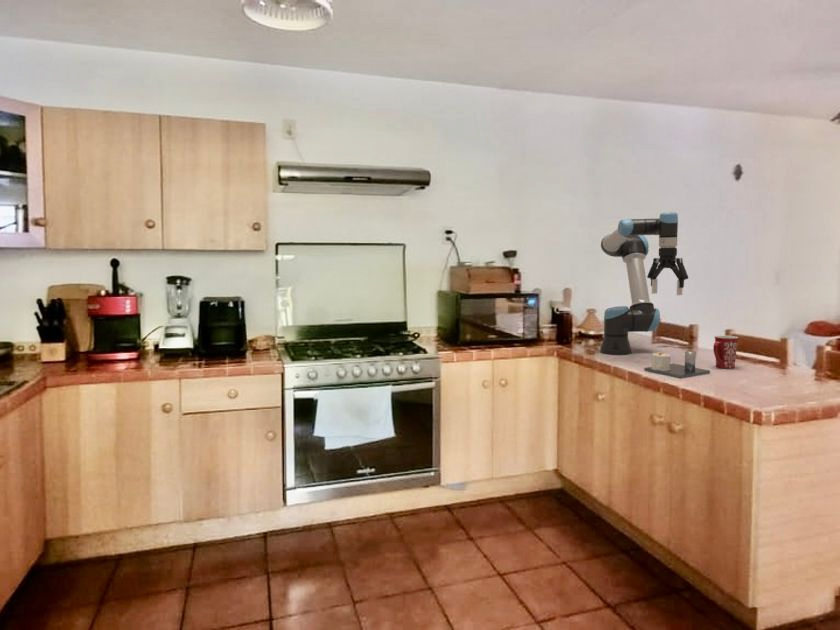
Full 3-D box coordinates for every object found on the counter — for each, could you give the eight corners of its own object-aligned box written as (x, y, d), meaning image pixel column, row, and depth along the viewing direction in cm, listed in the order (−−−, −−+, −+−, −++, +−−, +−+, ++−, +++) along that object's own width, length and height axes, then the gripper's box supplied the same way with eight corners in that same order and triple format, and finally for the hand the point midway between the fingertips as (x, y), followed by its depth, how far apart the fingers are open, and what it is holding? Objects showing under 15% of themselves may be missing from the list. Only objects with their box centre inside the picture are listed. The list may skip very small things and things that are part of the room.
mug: (721, 364, 250) (722, 334, 248) (741, 367, 242) (742, 336, 240) (703, 367, 244) (704, 337, 242) (723, 371, 236) (724, 339, 234)
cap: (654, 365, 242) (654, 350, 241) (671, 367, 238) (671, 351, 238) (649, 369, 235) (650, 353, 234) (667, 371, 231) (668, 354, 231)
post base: (644, 370, 240) (644, 350, 239) (673, 366, 248) (674, 346, 247) (680, 378, 224) (680, 356, 223) (710, 373, 232) (710, 352, 231)
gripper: (639, 247, 259) (638, 293, 261) (686, 246, 237) (684, 296, 239) (651, 247, 262) (650, 292, 265) (698, 246, 240) (696, 295, 242)
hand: (666, 294), depth 252 cm, fingers open, 13 cm apart
